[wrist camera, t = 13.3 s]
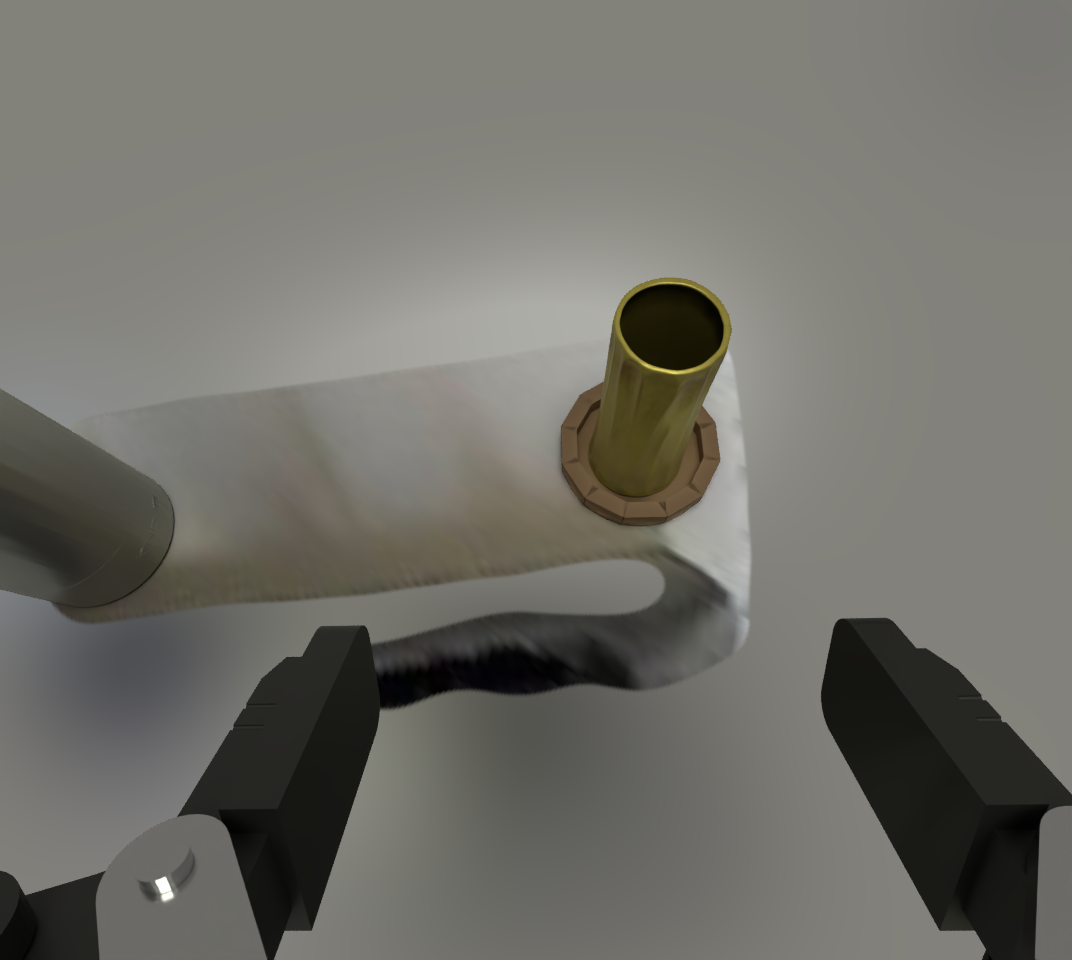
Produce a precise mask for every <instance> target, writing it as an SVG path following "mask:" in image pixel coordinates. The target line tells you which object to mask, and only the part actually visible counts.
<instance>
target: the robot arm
mask: <svg viewBox="0 0 1072 960" xmlns="http://www.w3.org/2000/svg"><path fill="white" fill-rule="evenodd" d="M173 523H174V519H173V511H172V506H171V503H170V501H169V498H168V496H167V495H166V493H165V492H164V491H163V489H162V488H161V487H160V486H159V485H158V484H157V483H156V482H154V481H153V480H152V479H150V478H149V477H147V476H145V475H144V474H142V473H140V472H139V471H137V470H135V469H134V468H132V467H130V466H129V465H127V464H125V463H124V462H122V461H120V460H119V459H117V458H115V457H114V456H113V455H111V454H109V453H108V452H106V451H104V450H103V449H101V448H99V447H98V446H96V445H94V444H92V443H91V442H89V441H87V440H86V439H84V438H82V437H81V436H79V435H77V434H76V433H74V432H72V431H71V430H69V429H67V428H65V427H64V426H62V425H60V424H59V423H57V422H56V421H54V420H52V419H51V418H49V417H47V416H45V415H44V414H42V413H40V412H39V411H37V410H35V409H34V408H32V407H30V406H29V405H27V404H25V403H23V402H22V401H20V400H19V399H17V398H15V397H14V396H12V395H10V394H8V393H7V392H5V391H3V390H2V389H0V589H1V590H6V591H10V592H14V593H17V594H21V595H25V596H30V597H34V598H38V599H43V600H47V601H51V602H56V603H60V604H65V605H69V606H73V607H94V606H98V605H103V604H107V603H110V602H112V601H115V600H117V599H119V598H122V597H124V596H125V595H127V594H128V593H130V592H131V591H133V590H135V589H136V588H137V587H139V586H140V585H141V584H142V583H143V582H144V581H145V580H146V579H147V578H149V577H150V575H151V574H152V573H153V572H154V570H155V569H156V568H157V567H158V565H159V564H160V562H161V561H162V559H163V557H164V555H165V553H166V551H167V550H168V547H169V544H170V540H171V537H172V533H173ZM821 702H822V710H823V714H824V718H825V721H826V724H827V726H828V729H829V731H830V732H831V734H832V736H833V738H834V739H835V741H836V743H837V745H838V747H839V749H840V751H841V752H842V754H843V756H844V758H845V760H846V761H847V763H848V765H849V767H850V769H851V770H852V772H853V774H854V776H855V777H856V780H857V781H858V783H859V785H860V787H861V789H862V790H863V792H864V794H865V796H866V798H867V800H868V801H869V803H870V805H871V807H872V808H873V810H874V812H875V814H876V816H877V818H878V819H879V821H880V823H881V825H882V827H883V829H884V830H885V832H886V834H887V836H888V838H889V839H890V841H891V843H892V845H893V847H894V849H895V850H896V852H897V854H898V856H899V858H900V859H901V861H902V863H903V865H904V867H905V868H906V870H907V872H908V874H909V876H910V878H911V879H912V881H913V883H914V885H915V887H916V888H917V890H918V892H919V894H920V896H921V897H922V899H923V901H924V903H925V905H926V906H927V908H928V910H929V912H930V914H931V916H932V917H933V919H934V921H935V923H936V925H937V926H938V928H939V930H940V931H947V930H949V931H952V930H953V931H956V930H957V931H960V930H962V931H966V930H975V931H976V933H977V935H978V936H979V938H980V940H981V942H982V943H983V945H984V947H985V948H986V951H985V953H984V955H983V958H982V960H1072V794H1071V793H1070V792H1069V791H1068V790H1067V789H1066V788H1065V787H1064V786H1063V785H1062V783H1061V782H1060V781H1059V780H1058V779H1057V778H1056V777H1055V776H1054V775H1053V774H1052V772H1051V771H1050V770H1049V769H1048V768H1047V767H1046V766H1045V765H1044V764H1043V762H1042V761H1041V760H1040V759H1039V758H1038V757H1037V756H1036V755H1035V754H1034V753H1033V751H1032V750H1031V749H1030V748H1029V747H1028V746H1027V745H1026V744H1025V743H1024V741H1023V740H1022V739H1020V737H1019V736H1018V735H1017V734H1016V733H1015V732H1014V731H1013V729H1012V728H1011V727H1010V726H1009V725H1008V724H1007V723H1006V722H1002V721H1001V716H1000V715H999V714H998V713H997V712H996V711H995V710H994V708H993V707H992V706H991V705H990V704H989V703H988V702H987V701H986V700H982V698H981V694H980V693H979V692H978V691H977V690H976V689H975V688H974V686H973V685H972V684H971V683H970V682H969V681H968V680H967V679H966V678H965V677H964V675H963V674H962V673H961V672H960V671H959V670H958V669H957V668H955V667H953V666H952V665H950V664H949V663H947V662H946V661H944V660H943V659H941V658H940V657H938V656H937V655H935V654H934V653H932V652H931V651H929V650H928V649H926V648H924V649H922V648H920V649H919V648H917V649H916V647H915V646H914V645H913V644H912V643H911V642H910V640H909V639H908V638H907V637H906V636H905V635H904V634H903V632H902V631H901V630H900V629H899V628H898V626H897V625H896V624H895V623H894V622H893V621H891V620H890V619H888V618H854V619H853V618H851V619H839V620H838V621H837V622H836V624H835V626H834V629H833V634H832V639H831V644H830V649H829V653H828V659H827V664H826V669H825V674H824V679H823V684H822V690H821ZM379 712H380V698H379V690H378V684H377V678H376V672H375V667H374V661H373V655H372V649H371V643H370V637H369V633H368V630H367V628H366V627H365V626H321V627H319V628H318V629H317V631H316V632H315V634H314V636H313V638H312V639H311V641H310V643H309V645H308V647H307V648H306V651H305V652H304V654H303V656H302V657H286V658H285V659H284V660H283V661H282V662H281V663H279V664H278V665H277V666H276V667H275V668H274V669H272V670H271V671H270V672H269V673H268V674H267V675H265V676H264V677H263V678H262V679H261V681H260V683H259V684H258V686H257V687H256V689H255V690H254V692H253V694H252V695H251V697H250V699H249V700H248V702H247V706H246V709H243V710H242V712H241V713H240V715H239V717H238V718H237V720H236V722H235V723H234V728H233V730H230V731H229V733H228V735H227V736H226V738H225V740H224V741H223V743H222V745H221V746H220V748H219V750H218V751H217V753H216V754H215V756H214V758H213V759H212V761H211V763H210V765H209V766H208V768H207V769H206V771H205V773H204V774H203V776H202V777H201V779H200V781H199V782H198V784H197V785H196V787H195V789H194V790H193V792H192V794H191V795H190V797H189V799H188V800H187V802H186V803H185V805H184V807H183V808H182V810H181V812H180V813H179V815H178V816H177V817H176V818H173V819H170V820H167V821H165V822H163V823H160V824H158V825H156V826H154V827H153V828H151V829H149V830H147V831H146V832H144V833H143V834H141V835H140V836H138V837H137V838H136V839H135V840H133V841H132V842H131V843H130V844H129V845H127V846H126V847H125V848H124V849H123V850H122V851H121V852H120V853H119V854H118V855H117V857H116V858H115V859H114V860H113V861H112V863H111V864H110V865H109V867H108V869H107V870H106V871H104V872H101V873H98V874H96V875H92V876H89V877H85V878H82V879H79V880H75V881H72V882H69V883H66V884H62V885H59V886H55V887H52V888H49V889H45V890H42V891H39V892H35V893H32V894H28V895H25V894H24V893H23V891H22V889H21V887H20V885H19V884H18V882H17V880H16V879H15V878H14V877H13V876H12V875H10V874H8V873H6V872H3V871H0V960H274V957H275V955H276V952H277V950H278V947H279V944H280V941H281V939H282V936H283V933H284V931H292V930H293V931H295V930H296V931H299V930H301V931H310V930H312V928H313V925H314V922H315V919H316V916H317V912H318V910H319V906H320V903H321V900H322V897H323V894H324V891H325V888H326V885H327V882H328V879H329V876H330V872H331V870H332V867H333V864H334V861H335V857H336V854H337V851H338V848H339V845H340V842H341V839H342V836H343V833H344V830H345V827H346V824H347V820H348V817H349V814H350V811H351V808H352V805H353V802H354V799H355V796H356V793H357V790H358V787H359V784H360V781H361V778H362V775H363V772H364V768H365V765H366V762H367V759H368V756H369V753H370V750H371V747H372V744H373V741H374V737H375V735H376V731H377V727H378V721H379Z"/></svg>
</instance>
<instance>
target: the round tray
mask: <svg viewBox="0 0 1072 960" xmlns="http://www.w3.org/2000/svg"><path fill="white" fill-rule="evenodd" d="M603 384H604V382H602V383H601V384H599V385H597V386H595V387H593V388H591V389H590V390H588V391H586V392H584V393H582V394H581V395H580V396H579V398H578V399H577V401H576V403H575V404H574V406H573V407H572V409H571V411H570V412H569V414H568V416H567V417H566V419H565V421H564V422H563V424H562V426H561V451H562V455H561V456H562V472H563V473H564V475H565V476H566V479H567V481H568V483H569V485H570V487H571V489H572V490H573V492H574V493H575V495H576V496H577V497H578V498H579V499H580V500H581V501H582V502H583V503H584V505H585V506H587V507H588V508H589V509H591V510H592V511H593V512H595V513H597V514H598V515H600V516H602V517H604V518H606V519H608V520H611V521H614V522H617V523H620V524H625V525H631V526H647V525H655V524H659V523H664V522H666V521H669V520H672V519H673V518H675V517H677V516H679V515H681V514H682V513H684V512H685V511H687V510H688V509H689V508H690V507H691V506H693V505H695V504H696V503H698V502H699V501H700V499H701V498H702V496H703V495H704V493H705V491H706V489H707V487H708V485H709V483H710V481H711V479H712V476H713V474H714V472H715V470H716V468H717V466H718V464H719V462H720V454H719V446H718V439H717V431H716V424H715V421H714V420H713V419H712V418H711V416H710V415H709V414H708V413H707V411H706V410H705V409H704V408H703V406H701V409H700V411H699V413H698V416H697V418H696V421H695V424H694V427H693V430H692V433H691V436H690V439H689V442H688V445H687V447H686V450H685V453H684V456H683V459H682V463H681V467H680V470H679V472H678V474H677V476H676V478H675V479H674V480H673V481H672V482H671V483H670V484H669V485H668V486H667V487H666V488H665V489H663V490H661V491H659V492H657V493H654V494H651V495H648V496H642V497H632V496H626V495H622V494H619V493H616V492H614V491H612V490H611V489H609V488H608V487H606V486H605V485H604V484H603V483H602V482H601V481H600V480H599V479H598V478H597V476H596V475H595V473H594V471H593V470H592V468H591V465H590V463H589V456H588V448H589V442H590V439H591V437H592V435H593V432H594V429H595V424H596V420H597V416H598V413H599V409H600V404H601V396H602V390H603Z"/></svg>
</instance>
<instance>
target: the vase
mask: <svg viewBox="0 0 1072 960" xmlns="http://www.w3.org/2000/svg"><path fill="white" fill-rule="evenodd" d="M731 330H732V328H731V323H730V319H729V315H728V313H727V311H726V309H725V307H724V305H723V304H722V302H721V301H720V300H719V299H718V297H716V295H715V294H713V293H712V292H711V291H709V290H708V289H707V288H705V287H704V286H702V285H700V284H698V283H696V282H693V281H691V280H687V279H681V278H659V279H655V280H650V281H647V282H644V283H642V284H639V285H637V286H636V287H634V288H633V289H632V290H630V291H629V292H628V293H627V294H626V295H625V296H624V298H623V299H622V300H621V302H620V304H619V306H618V308H617V310H616V313H615V316H614V320H613V325H612V333H611V339H610V345H609V351H608V359H607V366H606V373H605V378H604V384H603V390H602V396H601V404H600V409H599V413H598V416H597V420H596V424H595V429H594V432H593V435H592V437H591V439H590V442H589V448H588V456H589V463H590V465H591V468H592V470H593V471H594V473H595V475H596V476H597V478H598V479H599V480H600V481H601V482H602V483H603V484H604V485H605V486H606V487H608V488H609V489H611V490H612V491H614V492H616V493H619V494H622V495H626V496H632V497H642V496H648V495H651V494H654V493H657V492H659V491H661V490H663V489H665V488H666V487H667V486H668V485H669V484H670V483H671V482H672V481H673V480H674V479H675V478H676V476H677V474H678V472H679V470H680V467H681V463H682V459H683V456H684V453H685V450H686V447H687V445H688V442H689V439H690V436H691V433H692V430H693V427H694V424H695V421H696V418H697V416H698V413H699V411H700V409H701V406H702V404H703V402H704V399H705V397H706V395H707V393H708V391H709V388H710V386H711V384H712V382H713V380H714V378H715V376H716V374H717V372H718V369H719V367H720V365H721V363H722V361H723V359H724V357H725V355H726V352H727V348H728V344H729V339H730V335H731Z"/></svg>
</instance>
